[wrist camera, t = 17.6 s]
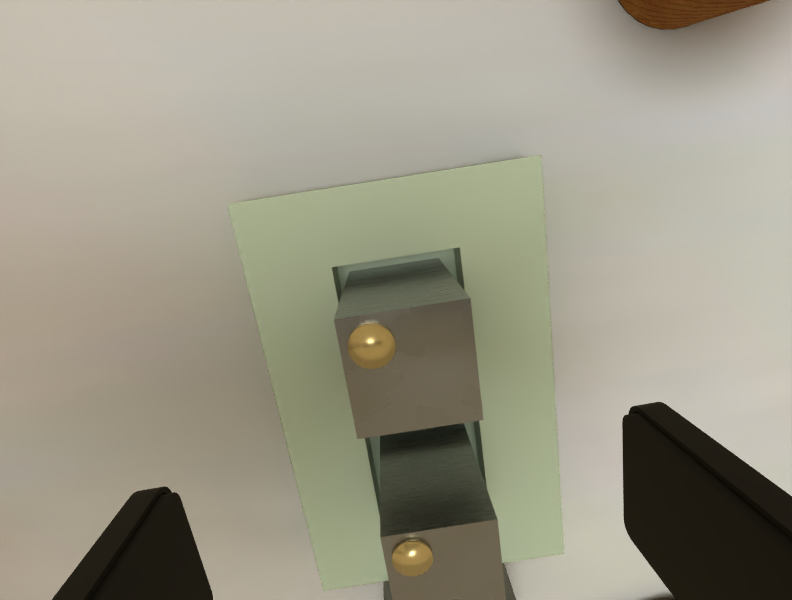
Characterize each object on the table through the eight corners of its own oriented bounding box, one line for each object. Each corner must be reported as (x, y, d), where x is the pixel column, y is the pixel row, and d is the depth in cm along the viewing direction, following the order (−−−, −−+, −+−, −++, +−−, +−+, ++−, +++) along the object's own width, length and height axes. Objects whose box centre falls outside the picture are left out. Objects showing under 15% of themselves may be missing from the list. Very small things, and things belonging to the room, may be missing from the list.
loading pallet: (553, 605, 29) (588, 689, 24) (348, 637, 29) (341, 727, 24) (522, 158, 21) (564, 150, 17) (244, 201, 21) (205, 206, 17)
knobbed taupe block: (448, 341, 23) (484, 422, 15) (364, 354, 23) (357, 442, 15) (438, 257, 22) (471, 299, 14) (349, 271, 22) (332, 321, 14)
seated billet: (468, 481, 26) (508, 614, 18) (392, 493, 26) (397, 631, 18) (460, 412, 24) (498, 523, 17) (379, 425, 24) (380, 541, 17)
